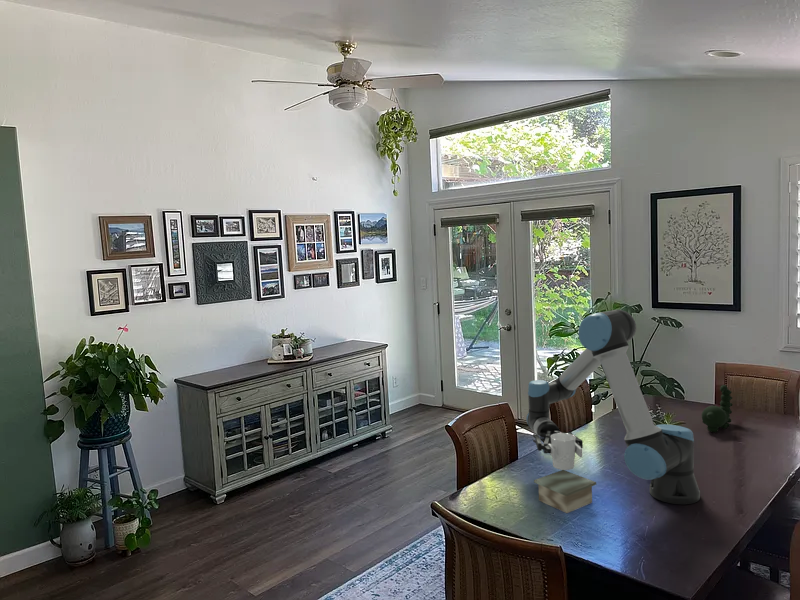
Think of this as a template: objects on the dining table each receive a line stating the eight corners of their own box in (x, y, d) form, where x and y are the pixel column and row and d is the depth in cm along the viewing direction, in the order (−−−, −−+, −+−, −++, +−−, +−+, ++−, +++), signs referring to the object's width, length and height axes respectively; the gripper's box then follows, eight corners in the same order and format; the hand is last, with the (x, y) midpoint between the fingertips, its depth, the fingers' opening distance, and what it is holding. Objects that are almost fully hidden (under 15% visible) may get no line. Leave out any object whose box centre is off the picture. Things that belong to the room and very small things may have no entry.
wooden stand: (596, 502, 192) (596, 482, 191) (567, 515, 184) (566, 493, 183) (563, 489, 203) (563, 469, 203) (534, 500, 196) (533, 480, 195)
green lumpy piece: (715, 423, 268) (695, 432, 251) (716, 382, 268) (696, 388, 250) (738, 427, 262) (719, 437, 244) (739, 385, 261) (720, 391, 244)
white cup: (581, 468, 190) (580, 438, 189) (560, 472, 188) (559, 442, 187) (566, 460, 198) (566, 431, 197) (546, 464, 195) (545, 434, 194)
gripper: (575, 439, 211) (599, 463, 188) (518, 442, 210) (536, 467, 187) (575, 419, 210) (599, 440, 187) (518, 422, 209) (536, 444, 187)
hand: (568, 453), depth 187 cm, fingers closed on white cup, 8 cm apart
